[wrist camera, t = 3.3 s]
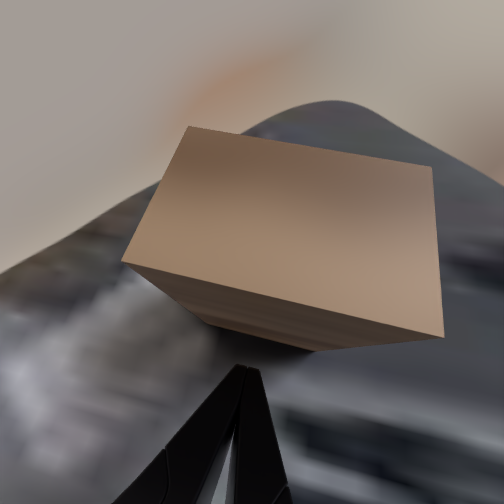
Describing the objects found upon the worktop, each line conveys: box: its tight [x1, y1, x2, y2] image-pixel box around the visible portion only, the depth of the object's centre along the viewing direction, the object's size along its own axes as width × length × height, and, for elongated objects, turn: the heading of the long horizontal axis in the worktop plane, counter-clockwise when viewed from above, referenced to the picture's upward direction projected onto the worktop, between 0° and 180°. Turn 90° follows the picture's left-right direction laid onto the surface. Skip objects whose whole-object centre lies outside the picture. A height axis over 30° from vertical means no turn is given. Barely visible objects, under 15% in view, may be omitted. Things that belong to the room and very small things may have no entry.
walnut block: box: [121, 126, 444, 351], centre depth 11 cm, size 5×7×11 cm
